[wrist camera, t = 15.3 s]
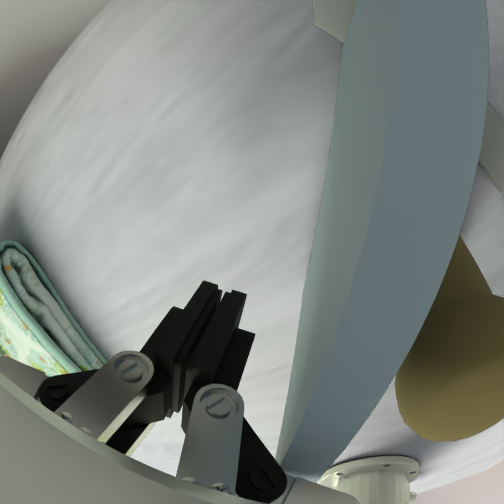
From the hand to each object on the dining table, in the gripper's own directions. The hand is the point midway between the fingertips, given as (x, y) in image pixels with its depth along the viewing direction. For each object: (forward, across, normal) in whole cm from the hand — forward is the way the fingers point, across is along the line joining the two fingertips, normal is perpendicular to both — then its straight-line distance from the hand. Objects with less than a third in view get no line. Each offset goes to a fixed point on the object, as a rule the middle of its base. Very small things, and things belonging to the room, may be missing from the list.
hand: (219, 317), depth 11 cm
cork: (+7, -8, -2) cm, 11 cm away
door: (+6, -4, -5) cm, 9 cm away
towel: (+7, +21, +19) cm, 29 cm away
